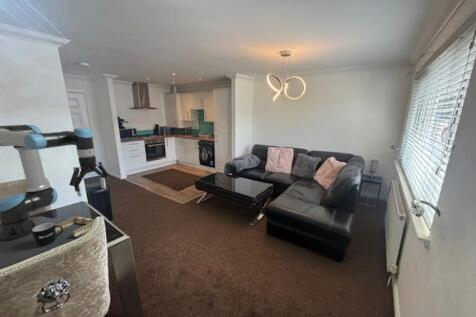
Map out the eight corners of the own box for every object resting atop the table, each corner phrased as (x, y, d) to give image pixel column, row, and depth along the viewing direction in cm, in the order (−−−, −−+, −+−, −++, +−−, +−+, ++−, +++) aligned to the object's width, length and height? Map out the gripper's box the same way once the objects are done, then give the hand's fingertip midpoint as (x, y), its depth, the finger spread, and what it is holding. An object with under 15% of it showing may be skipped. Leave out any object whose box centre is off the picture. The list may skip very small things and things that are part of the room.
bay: (52, 233, 119) (50, 227, 119) (75, 221, 133) (74, 216, 132) (75, 238, 115) (74, 232, 114) (97, 225, 128) (96, 219, 127)
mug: (36, 250, 104) (32, 233, 102) (35, 243, 110) (31, 227, 108) (66, 239, 113) (62, 224, 111) (63, 233, 119) (59, 218, 117)
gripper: (66, 161, 96) (73, 201, 100) (112, 152, 119) (116, 185, 124) (55, 160, 98) (63, 199, 103) (103, 151, 121) (107, 184, 126)
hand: (92, 191), depth 113 cm, fingers open, 13 cm apart
